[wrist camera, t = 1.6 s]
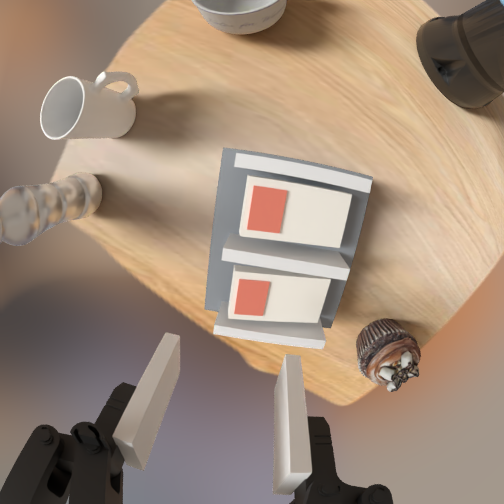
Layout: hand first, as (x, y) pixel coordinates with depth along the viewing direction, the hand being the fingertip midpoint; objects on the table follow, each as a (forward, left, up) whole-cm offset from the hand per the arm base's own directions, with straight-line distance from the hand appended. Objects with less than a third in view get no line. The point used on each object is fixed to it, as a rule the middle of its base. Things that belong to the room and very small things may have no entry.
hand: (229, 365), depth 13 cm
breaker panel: (-4, -1, -23) cm, 23 cm away
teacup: (+4, -31, -23) cm, 39 cm away
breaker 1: (-4, -5, -16) cm, 17 cm away
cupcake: (-23, +13, -23) cm, 35 cm away
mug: (+19, -15, -23) cm, 34 cm away
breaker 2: (-4, +4, -16) cm, 17 cm away
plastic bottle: (+24, -3, -23) cm, 34 cm away
